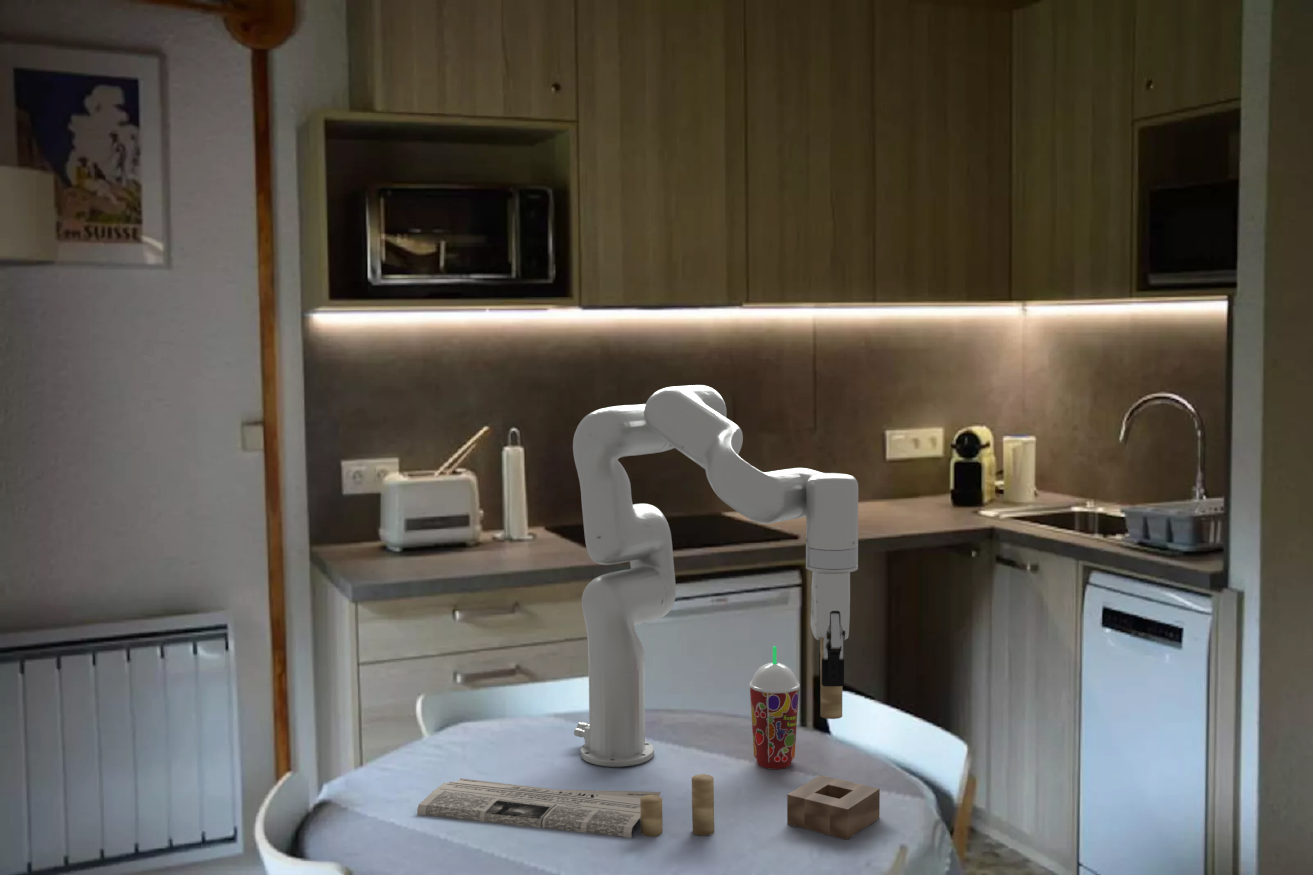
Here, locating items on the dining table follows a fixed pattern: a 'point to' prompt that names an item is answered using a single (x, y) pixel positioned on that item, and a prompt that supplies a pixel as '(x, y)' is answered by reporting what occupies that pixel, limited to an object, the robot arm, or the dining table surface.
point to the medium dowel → (703, 804)
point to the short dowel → (651, 815)
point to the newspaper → (537, 806)
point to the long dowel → (829, 694)
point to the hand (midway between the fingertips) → (831, 680)
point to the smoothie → (774, 714)
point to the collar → (833, 806)
